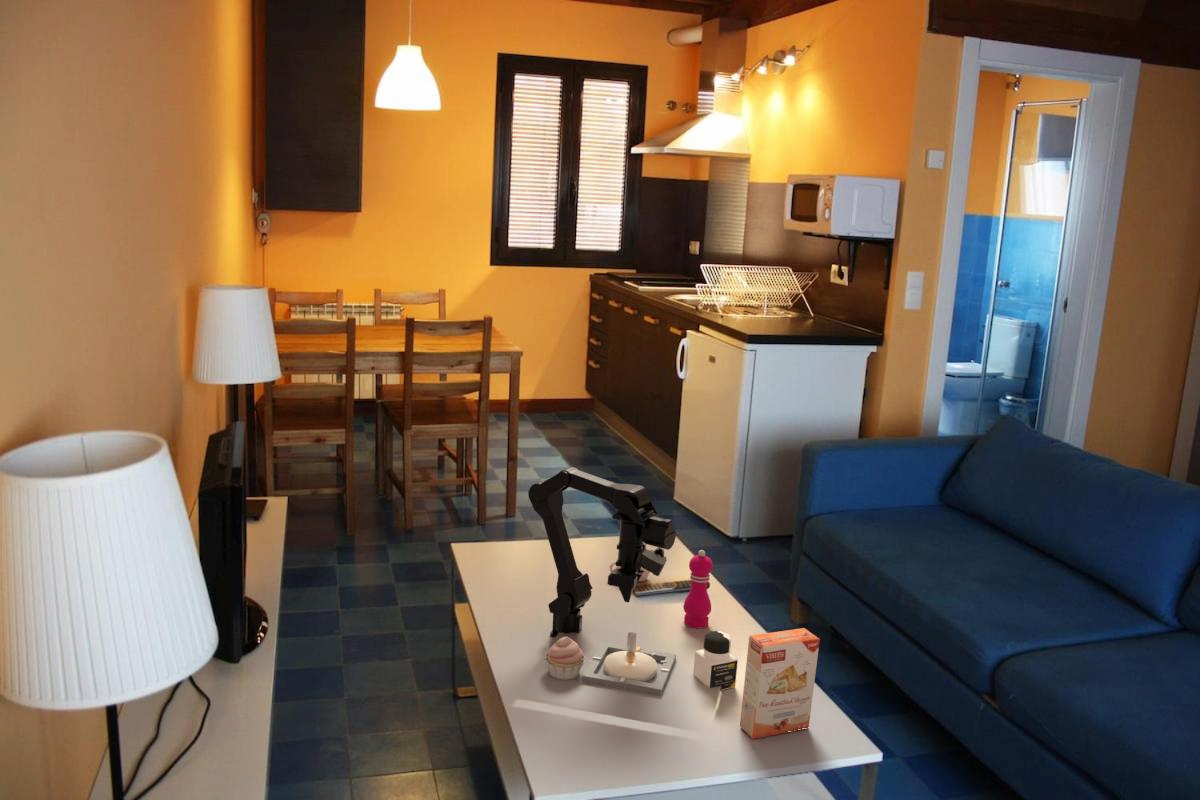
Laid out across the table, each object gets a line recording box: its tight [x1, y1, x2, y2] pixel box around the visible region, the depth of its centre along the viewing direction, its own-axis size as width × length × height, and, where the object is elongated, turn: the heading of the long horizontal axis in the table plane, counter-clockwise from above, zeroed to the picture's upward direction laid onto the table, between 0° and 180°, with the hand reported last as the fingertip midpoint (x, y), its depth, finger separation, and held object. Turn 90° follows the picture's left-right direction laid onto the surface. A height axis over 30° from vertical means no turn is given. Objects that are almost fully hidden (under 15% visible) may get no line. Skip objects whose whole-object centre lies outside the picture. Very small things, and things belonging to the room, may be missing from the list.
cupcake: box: [544, 636, 586, 681], centre depth 224 cm, size 9×9×10 cm
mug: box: [609, 561, 651, 583], centre depth 285 cm, size 12×10×6 cm
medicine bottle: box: [692, 630, 738, 692], centre depth 225 cm, size 7×7×12 cm
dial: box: [603, 631, 658, 682], centre depth 227 cm, size 12×12×7 cm
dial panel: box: [581, 641, 677, 696], centre depth 228 cm, size 18×18×3 cm
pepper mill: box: [682, 549, 713, 629], centre depth 256 cm, size 7×7×20 cm
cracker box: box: [739, 627, 821, 740], centre depth 207 cm, size 14×6×21 cm, turn 114°
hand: (627, 601), depth 237 cm, fingers closed
